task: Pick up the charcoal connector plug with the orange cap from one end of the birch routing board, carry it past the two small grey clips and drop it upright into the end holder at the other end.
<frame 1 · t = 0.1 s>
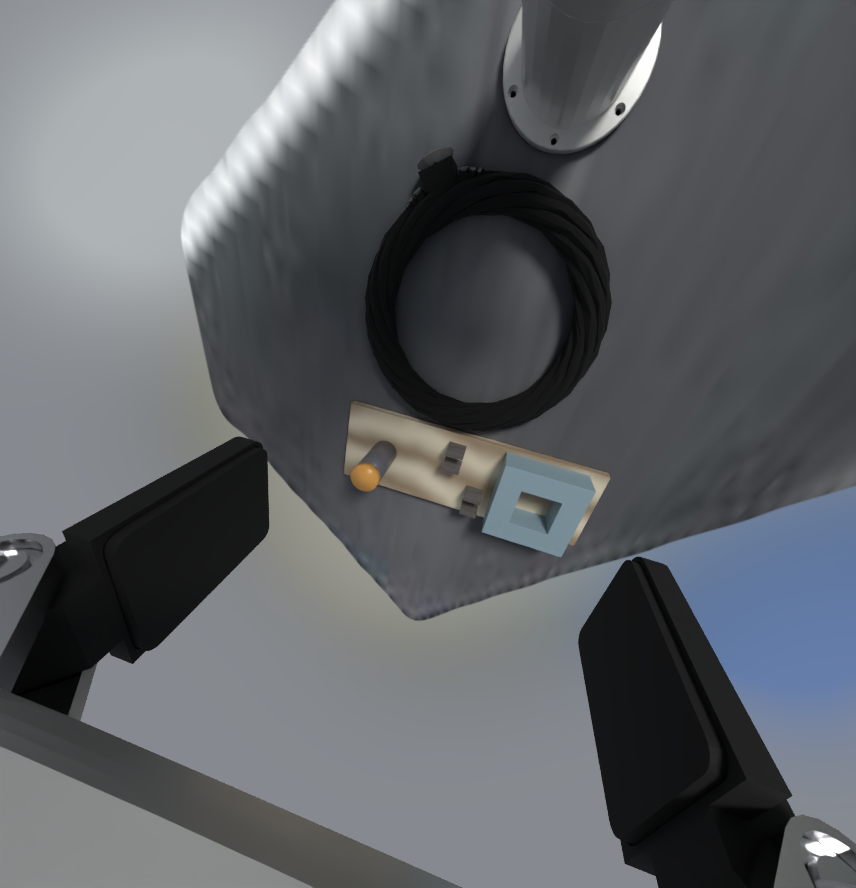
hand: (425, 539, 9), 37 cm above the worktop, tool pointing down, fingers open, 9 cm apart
connector plug: (385, 451, 50), point 1 cm above the worktop, touching route board
end holder: (533, 496, 48), resting on route board
route board: (465, 471, 50), on the worktop
cable lock: (477, 307, 41), on the worktop
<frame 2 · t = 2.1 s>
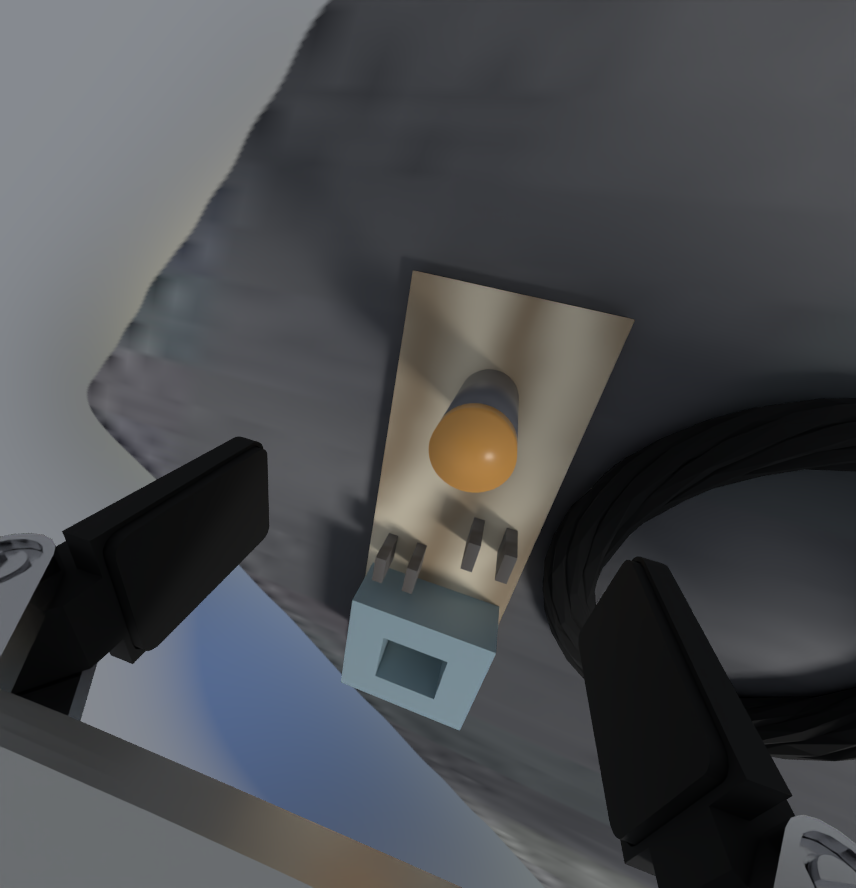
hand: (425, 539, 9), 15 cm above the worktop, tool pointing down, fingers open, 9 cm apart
connector plug: (488, 398, 21), point 1 cm above the worktop, touching route board
end holder: (422, 625, 31), resting on route board
route board: (449, 533, 27), on the worktop
cable lock: (773, 582, 23), on the worktop
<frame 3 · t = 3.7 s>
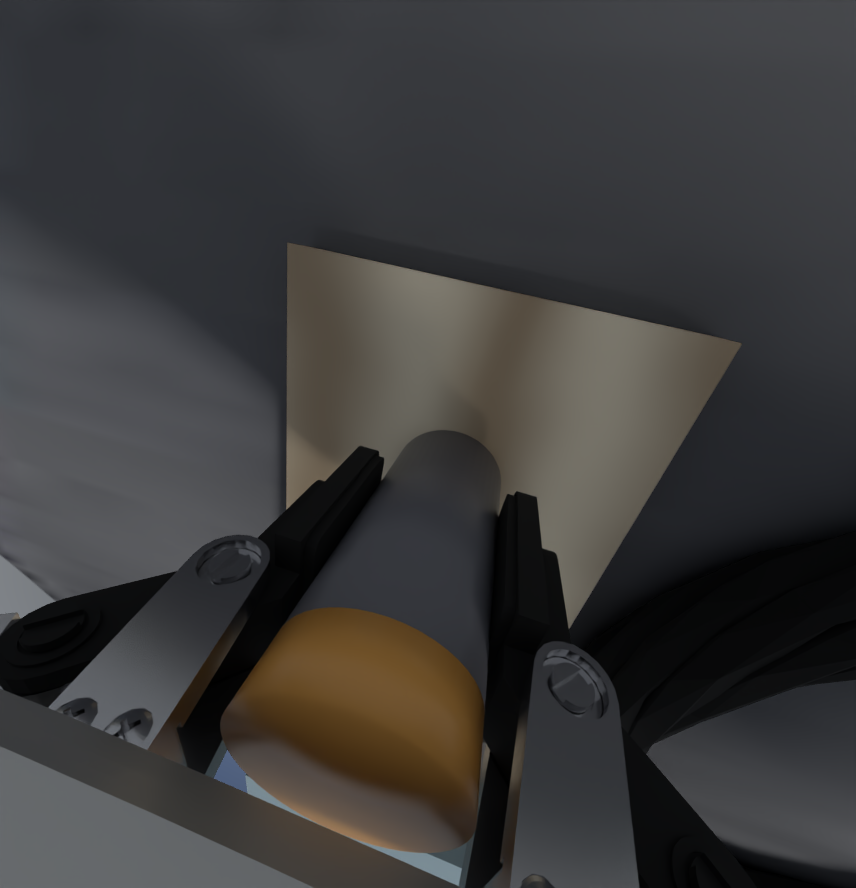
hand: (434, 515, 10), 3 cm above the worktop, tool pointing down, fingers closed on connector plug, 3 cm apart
connector plug: (446, 479, 12), point 1 cm above the worktop, touching gripper, route board
end holder: (371, 765, 22), resting on route board
route board: (402, 654, 18), on the worktop
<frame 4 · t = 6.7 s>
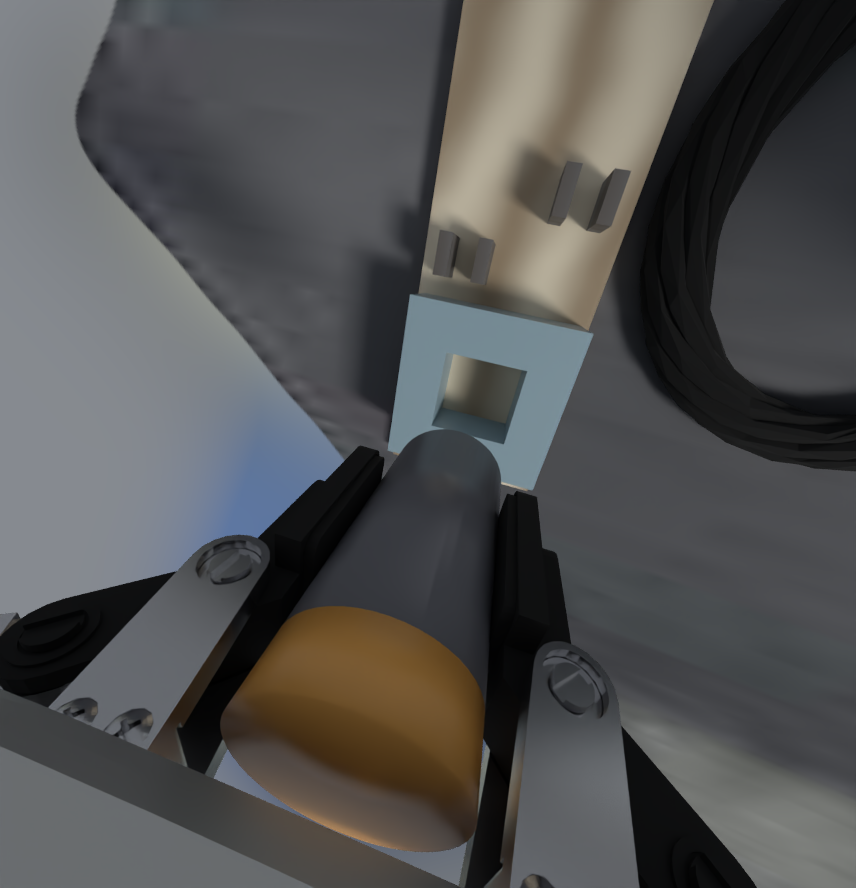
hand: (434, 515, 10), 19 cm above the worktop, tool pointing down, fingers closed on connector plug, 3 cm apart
connector plug: (447, 478, 12), point 17 cm above the worktop, touching gripper
end holder: (481, 384, 26), resting on route board
route board: (520, 236, 23), on the worktop
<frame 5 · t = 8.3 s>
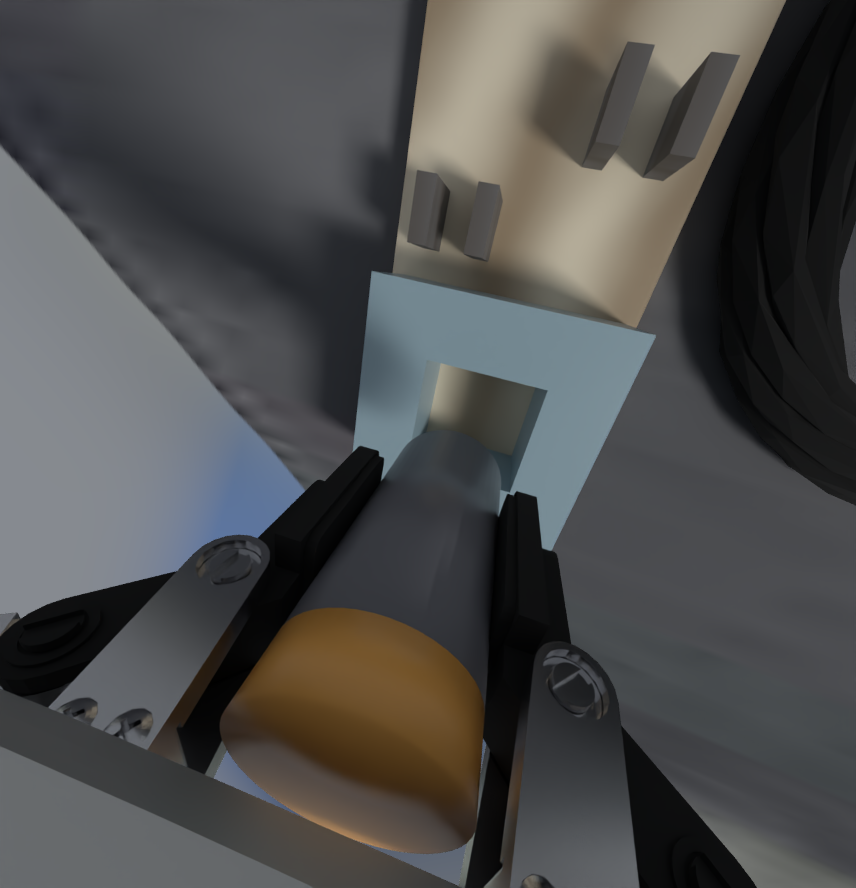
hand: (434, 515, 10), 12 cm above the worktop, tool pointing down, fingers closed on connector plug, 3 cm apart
connector plug: (446, 479, 12), point 10 cm above the worktop, touching gripper
end holder: (479, 402, 19), resting on route board
route board: (539, 191, 16), on the worktop
when the fingers open (6 cm above the worktop, at t = 9.6 s): connector plug drops 3 cm, resting on route board.
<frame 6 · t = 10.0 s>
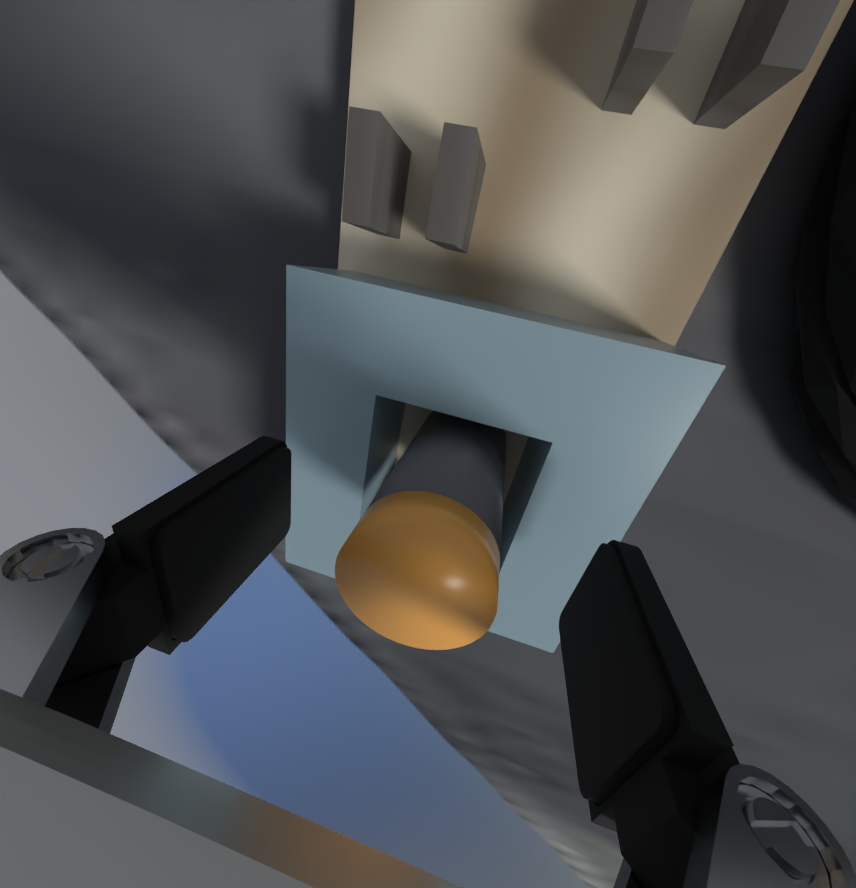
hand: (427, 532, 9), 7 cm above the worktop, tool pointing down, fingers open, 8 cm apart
connector plug: (462, 441, 14), point 1 cm above the worktop, touching route board
end holder: (460, 441, 14), resting on route board
route board: (538, 153, 11), on the worktop
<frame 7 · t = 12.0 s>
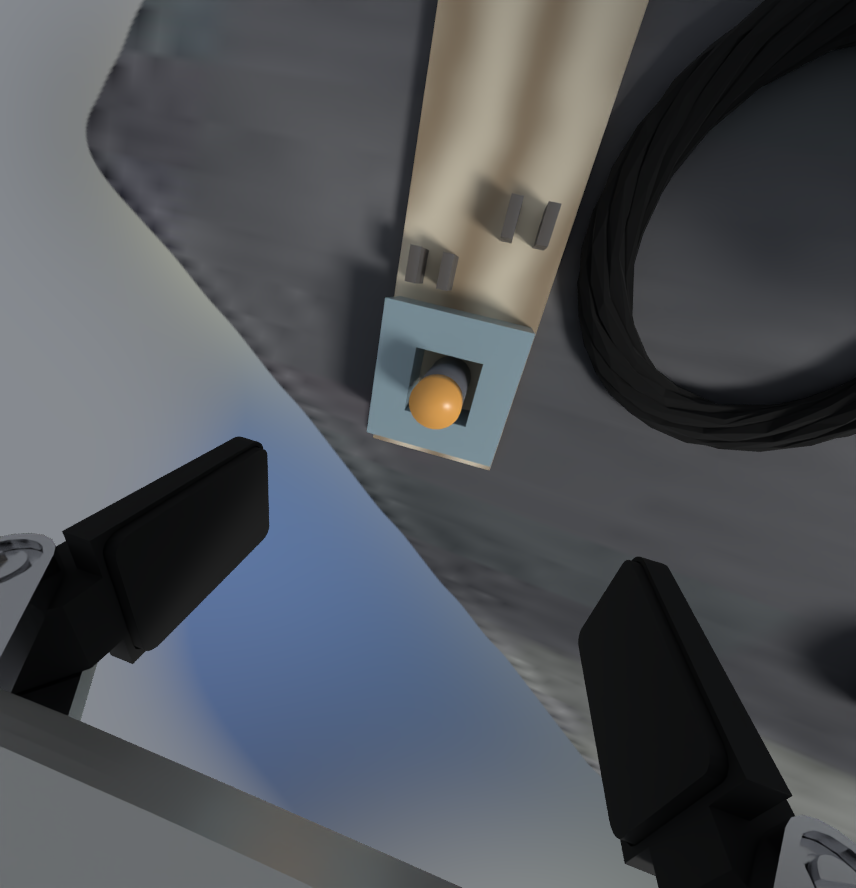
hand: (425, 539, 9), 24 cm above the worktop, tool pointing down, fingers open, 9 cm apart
connector plug: (450, 376, 30), point 1 cm above the worktop, touching route board
end holder: (448, 376, 30), resting on route board
route board: (480, 250, 27), on the worktop
cable lock: (804, 252, 24), on the worktop
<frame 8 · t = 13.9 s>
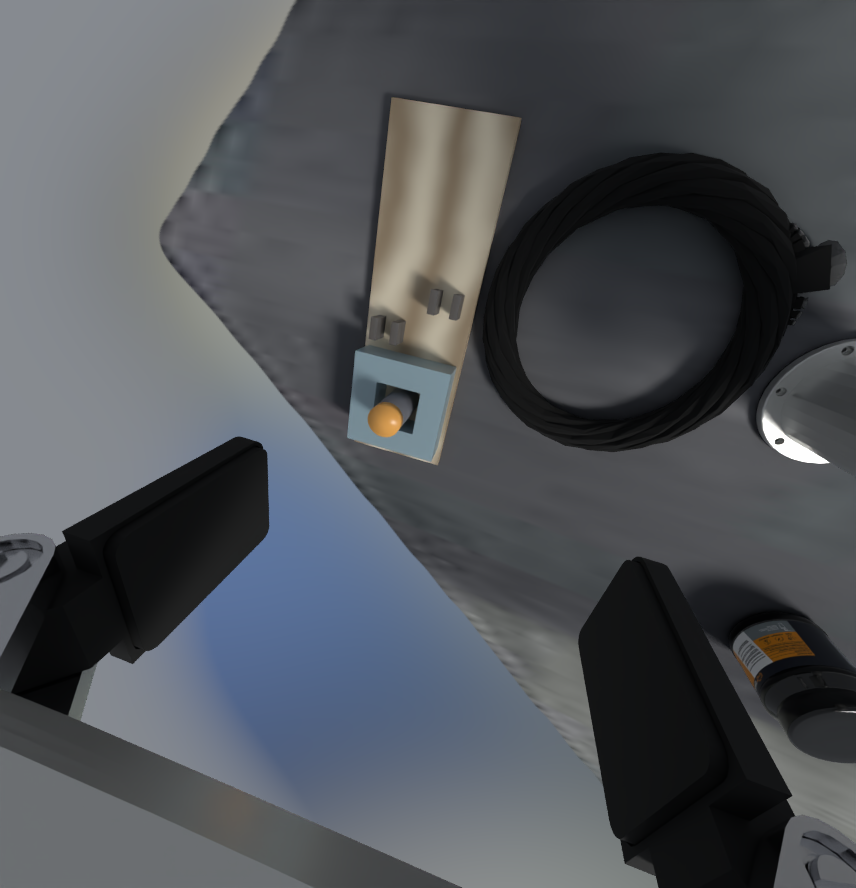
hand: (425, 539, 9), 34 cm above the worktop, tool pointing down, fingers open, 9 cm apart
connector plug: (405, 398, 43), point 1 cm above the worktop, touching route board
end holder: (404, 398, 43), resting on route board
supplement container: (770, 634, 47), on the worktop
route board: (421, 315, 40), on the worktop
cable lock: (628, 320, 36), on the worktop
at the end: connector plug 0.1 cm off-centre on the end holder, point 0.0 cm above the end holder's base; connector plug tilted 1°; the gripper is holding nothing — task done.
